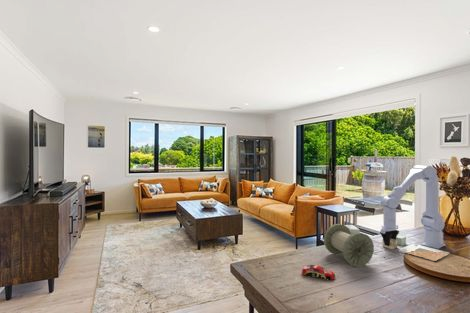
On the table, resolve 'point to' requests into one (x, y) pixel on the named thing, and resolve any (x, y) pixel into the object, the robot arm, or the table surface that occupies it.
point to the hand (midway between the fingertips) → (389, 244)
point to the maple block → (391, 244)
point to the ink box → (352, 229)
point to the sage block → (401, 240)
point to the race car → (318, 272)
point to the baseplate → (419, 249)
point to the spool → (349, 244)
